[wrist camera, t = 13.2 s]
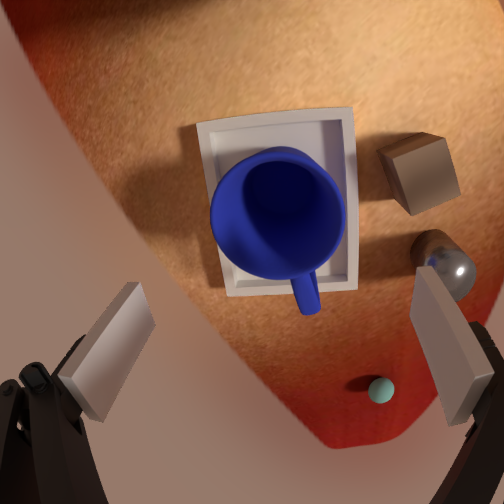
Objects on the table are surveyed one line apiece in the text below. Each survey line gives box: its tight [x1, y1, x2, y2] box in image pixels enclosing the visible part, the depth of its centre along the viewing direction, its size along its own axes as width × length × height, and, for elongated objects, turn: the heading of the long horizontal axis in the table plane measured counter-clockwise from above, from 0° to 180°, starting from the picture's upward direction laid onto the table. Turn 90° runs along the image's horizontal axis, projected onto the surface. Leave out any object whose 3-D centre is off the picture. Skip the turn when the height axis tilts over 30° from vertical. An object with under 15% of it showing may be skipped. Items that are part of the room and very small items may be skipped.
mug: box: [210, 146, 345, 315], centre depth 24 cm, size 8×12×10 cm
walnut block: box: [377, 132, 461, 216], centre depth 24 cm, size 5×5×5 cm
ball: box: [368, 378, 394, 403], centre depth 36 cm, size 4×4×4 cm
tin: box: [410, 229, 476, 302], centre depth 26 cm, size 5×5×6 cm
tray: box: [196, 107, 359, 296], centre depth 28 cm, size 17×13×2 cm
